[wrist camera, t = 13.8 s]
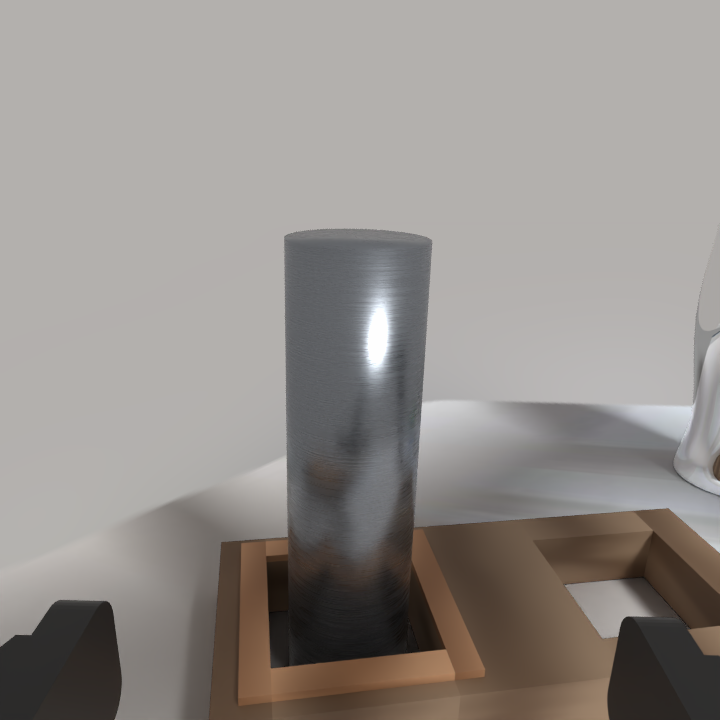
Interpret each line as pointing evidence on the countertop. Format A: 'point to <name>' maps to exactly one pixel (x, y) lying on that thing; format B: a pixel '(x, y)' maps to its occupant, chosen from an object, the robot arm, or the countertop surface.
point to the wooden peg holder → (468, 622)
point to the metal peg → (352, 436)
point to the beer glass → (705, 388)
